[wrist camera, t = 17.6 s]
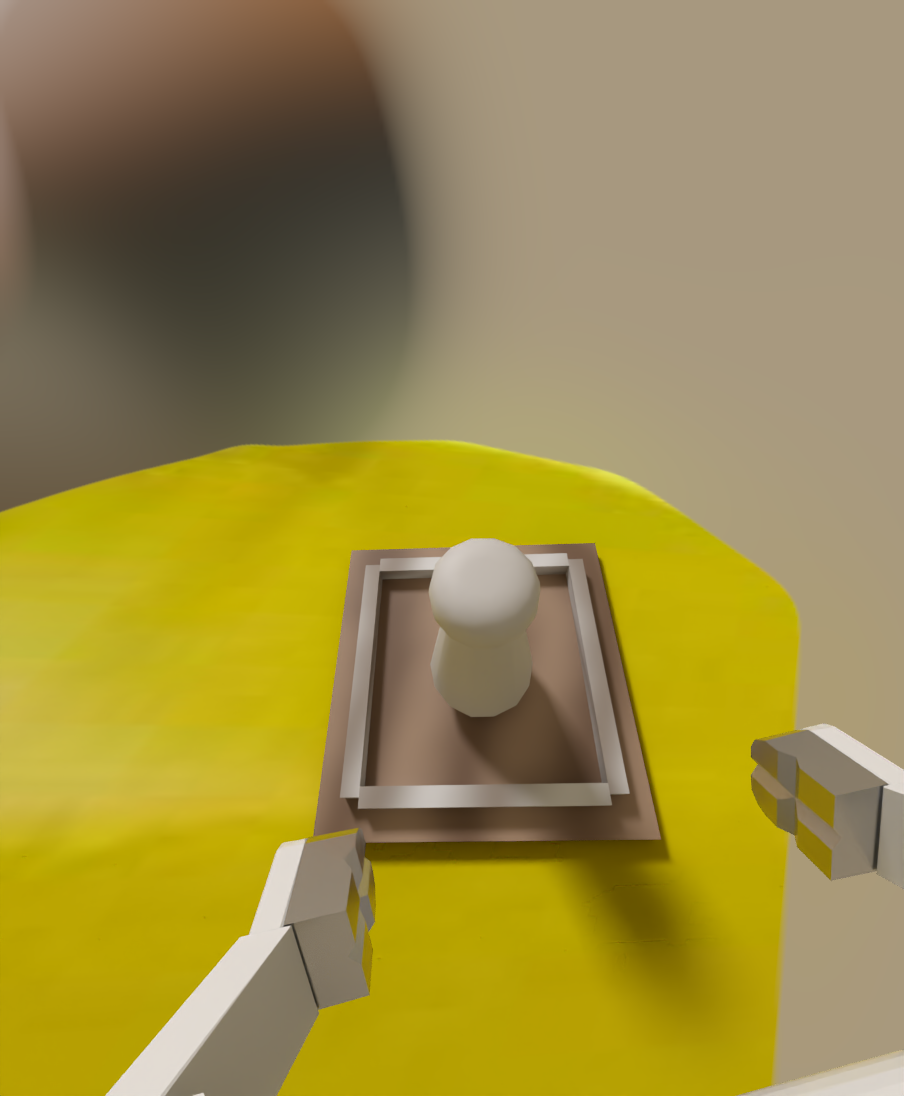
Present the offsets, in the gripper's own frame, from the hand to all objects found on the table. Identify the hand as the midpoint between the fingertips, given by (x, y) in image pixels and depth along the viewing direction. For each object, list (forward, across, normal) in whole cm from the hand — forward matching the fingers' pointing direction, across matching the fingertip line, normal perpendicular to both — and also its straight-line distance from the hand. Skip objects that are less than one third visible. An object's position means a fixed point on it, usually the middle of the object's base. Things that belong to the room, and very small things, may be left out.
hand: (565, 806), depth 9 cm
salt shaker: (+17, 0, +7) cm, 18 cm away
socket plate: (+18, 0, +7) cm, 19 cm away
